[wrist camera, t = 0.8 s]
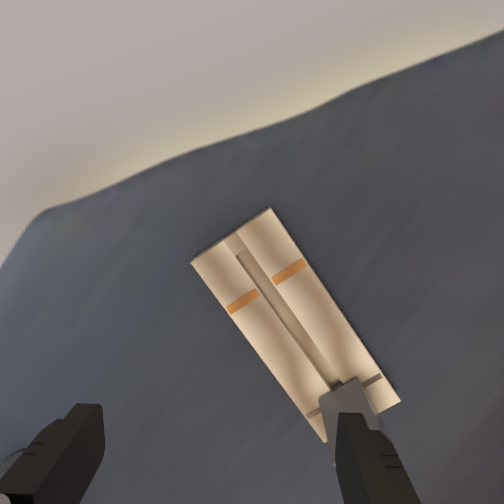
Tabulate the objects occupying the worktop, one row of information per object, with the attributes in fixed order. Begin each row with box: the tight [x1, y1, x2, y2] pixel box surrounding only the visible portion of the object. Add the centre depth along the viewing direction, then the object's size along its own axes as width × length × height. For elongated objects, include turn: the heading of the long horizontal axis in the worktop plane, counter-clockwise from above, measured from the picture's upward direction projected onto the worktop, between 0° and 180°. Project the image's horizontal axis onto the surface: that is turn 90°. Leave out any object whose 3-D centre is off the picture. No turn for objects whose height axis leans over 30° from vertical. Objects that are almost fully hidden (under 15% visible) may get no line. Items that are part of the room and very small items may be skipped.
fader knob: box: [318, 378, 399, 467], centre depth 37 cm, size 5×3×11 cm, turn 125°
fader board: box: [191, 207, 400, 443], centre depth 40 cm, size 10×26×2 cm, turn 35°
